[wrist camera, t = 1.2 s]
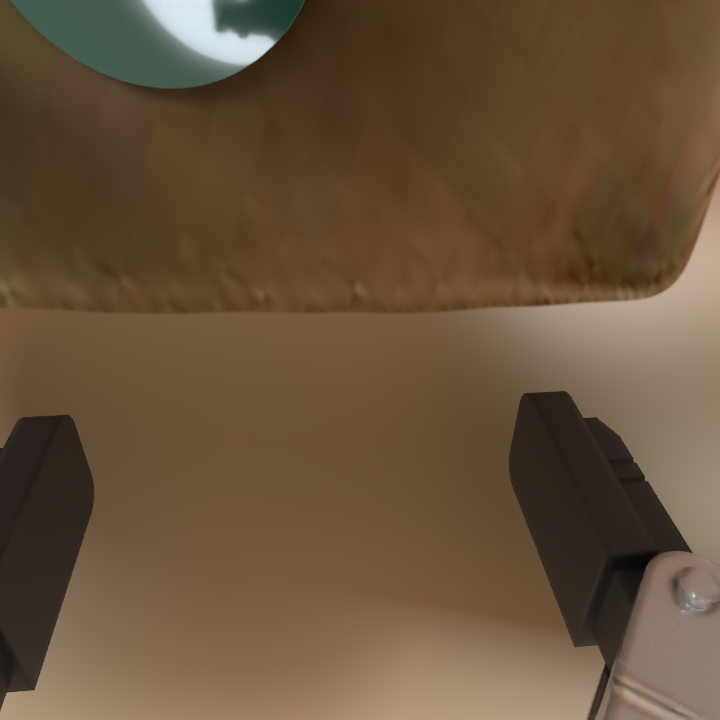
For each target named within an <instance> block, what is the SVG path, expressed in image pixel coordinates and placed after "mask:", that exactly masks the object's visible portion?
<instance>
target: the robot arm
mask: <svg viewBox="0 0 720 720" xmlns="http://www.w3.org/2000/svg"><path fill="white" fill-rule="evenodd" d="M509 471H510V478H511V483H512V486H513V489H514V491H515V494H516V497H517V499H518V502H519V504H520V507H521V510H522V512H523V515H524V517H525V520H526V522H527V525H528V528H529V530H530V533H531V535H532V538H533V541H534V543H535V546H536V548H537V551H538V554H539V556H540V559H541V561H542V564H543V566H544V569H545V572H546V574H547V577H548V579H549V582H550V585H551V587H552V590H553V592H554V595H555V598H556V600H557V603H558V605H559V608H560V610H561V613H562V616H563V618H564V621H565V623H566V626H567V629H568V631H569V634H570V636H571V639H572V642H573V644H574V647H581V646H593V645H598V646H599V649H600V651H601V654H602V656H603V658H604V661H605V664H604V666H603V668H602V670H601V673H600V677H599V680H598V683H597V686H596V689H595V692H594V695H593V698H592V701H591V705H590V708H589V711H588V714H587V717H586V720H720V565H718V564H717V563H715V562H714V561H712V560H709V559H707V558H705V557H703V556H700V555H697V554H693V552H692V551H691V550H690V548H689V547H688V545H687V544H686V542H685V540H684V539H683V537H682V536H681V534H680V532H679V531H678V529H677V527H676V526H675V524H674V523H673V521H672V519H671V518H670V516H669V515H668V513H667V511H666V510H665V509H664V507H663V505H662V504H661V502H660V500H659V499H658V497H657V495H656V494H655V492H654V491H653V489H652V487H651V486H650V484H649V483H648V482H647V481H645V476H644V475H643V473H642V471H641V470H640V468H639V467H638V465H637V463H634V462H633V457H632V456H631V454H630V452H629V451H628V449H627V448H626V446H625V444H624V443H623V441H622V439H621V438H620V436H619V435H617V434H616V433H615V432H614V431H613V430H611V429H610V428H609V427H608V426H606V425H605V424H604V423H603V422H601V421H600V420H599V419H598V418H583V417H582V415H581V413H580V412H579V410H578V409H577V406H576V405H575V403H574V402H573V400H572V398H571V396H570V395H569V394H568V393H567V392H565V391H559V392H539V393H525V394H524V395H523V396H522V398H521V400H520V404H519V410H518V414H517V419H516V424H515V430H514V434H513V439H512V444H511V449H510V454H509ZM93 502H94V484H93V478H92V475H91V472H90V469H89V465H88V462H87V459H86V456H85V453H84V450H83V448H82V444H81V441H80V438H79V435H78V432H77V429H76V426H75V423H74V421H73V419H72V418H71V417H70V416H69V415H57V416H37V417H23V418H21V419H19V420H18V422H17V423H16V425H15V427H14V428H13V430H12V432H11V434H10V436H9V438H8V440H7V442H6V444H5V445H4V448H0V710H1V707H2V704H3V701H4V698H5V696H6V693H7V692H17V691H29V690H35V687H36V684H37V680H38V677H39V674H40V671H41V668H42V665H43V662H44V659H45V656H46V653H47V649H48V646H49V643H50V640H51V637H52V634H53V631H54V627H55V625H56V622H57V618H58V615H59V612H60V609H61V606H62V603H63V600H64V597H65V594H66V590H67V587H68V584H69V581H70V578H71V575H72V572H73V569H74V566H75V562H76V559H77V556H78V553H79V550H80V547H81V544H82V541H83V538H84V534H85V532H86V528H87V525H88V522H89V519H90V516H91V513H92V509H93Z"/></svg>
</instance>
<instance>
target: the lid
mask: <svg viewBox="0 0 720 720" xmlns="http://www.w3.org/2000/svg"><path fill="white" fill-rule="evenodd" d="M9 1H10V2H11V3H12V4H13V6H14V7H15V8H16V9H17V10H18V11H19V12H20V13H21V15H22V16H23V17H24V18H25V19H26V20H27V21H28V22H29V23H30V24H31V25H32V26H33V27H34V28H35V29H36V30H37V31H38V32H40V33H41V34H42V35H43V36H44V37H45V38H47V39H48V40H49V41H50V42H51V43H52V44H54V45H55V46H56V47H58V48H59V49H60V50H62V51H63V52H65V53H66V54H68V55H69V56H71V57H72V58H74V59H75V60H77V61H78V62H80V63H82V64H84V65H86V66H88V67H90V68H92V69H93V70H95V71H97V72H100V73H102V74H105V75H107V76H110V77H112V78H115V79H117V80H120V81H124V82H128V83H131V84H135V85H139V86H145V87H153V88H161V89H183V88H190V87H197V86H204V85H207V84H210V83H214V82H217V81H221V80H223V79H226V78H228V77H230V76H232V75H234V74H237V73H239V72H241V71H242V70H244V69H246V68H247V67H249V66H250V65H252V64H253V63H255V62H256V61H258V60H259V59H260V58H261V57H262V56H264V55H265V54H266V53H267V52H268V51H269V50H270V49H272V48H273V47H274V46H275V45H276V43H277V42H278V41H279V40H280V39H281V38H282V36H283V35H284V34H285V33H286V32H287V31H288V29H289V28H290V26H291V25H292V23H293V22H294V20H295V19H296V17H297V16H298V14H299V12H300V11H301V9H302V7H303V5H304V2H305V0H9Z"/></svg>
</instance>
